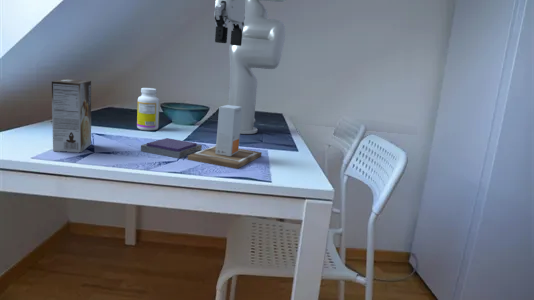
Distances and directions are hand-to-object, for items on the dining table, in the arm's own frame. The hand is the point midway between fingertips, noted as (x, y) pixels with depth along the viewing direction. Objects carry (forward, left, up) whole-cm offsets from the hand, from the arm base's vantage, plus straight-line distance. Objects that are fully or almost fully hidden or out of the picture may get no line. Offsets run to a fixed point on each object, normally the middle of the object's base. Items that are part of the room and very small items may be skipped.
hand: (228, 44), depth 113 cm
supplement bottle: (-4, -28, -28) cm, 40 cm away
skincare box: (+13, +8, -28) cm, 31 cm away
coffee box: (+30, -25, -28) cm, 48 cm away
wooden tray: (+14, +8, -28) cm, 32 cm away
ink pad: (+16, -6, -28) cm, 33 cm away
